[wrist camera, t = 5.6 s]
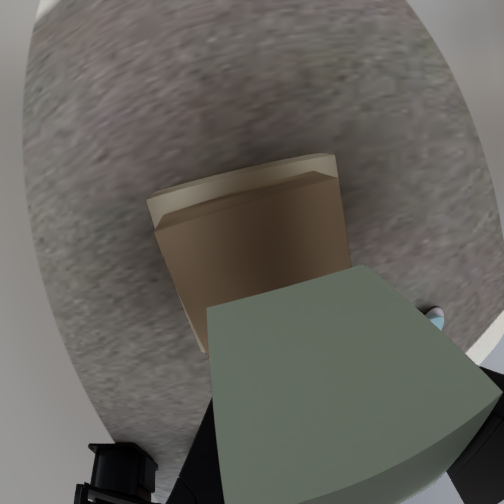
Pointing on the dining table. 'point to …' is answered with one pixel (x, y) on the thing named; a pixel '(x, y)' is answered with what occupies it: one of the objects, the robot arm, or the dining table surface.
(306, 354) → the sage block
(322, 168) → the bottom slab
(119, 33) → the dining table surface
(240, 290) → the top slab
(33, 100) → the dining table surface
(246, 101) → the dining table surface
